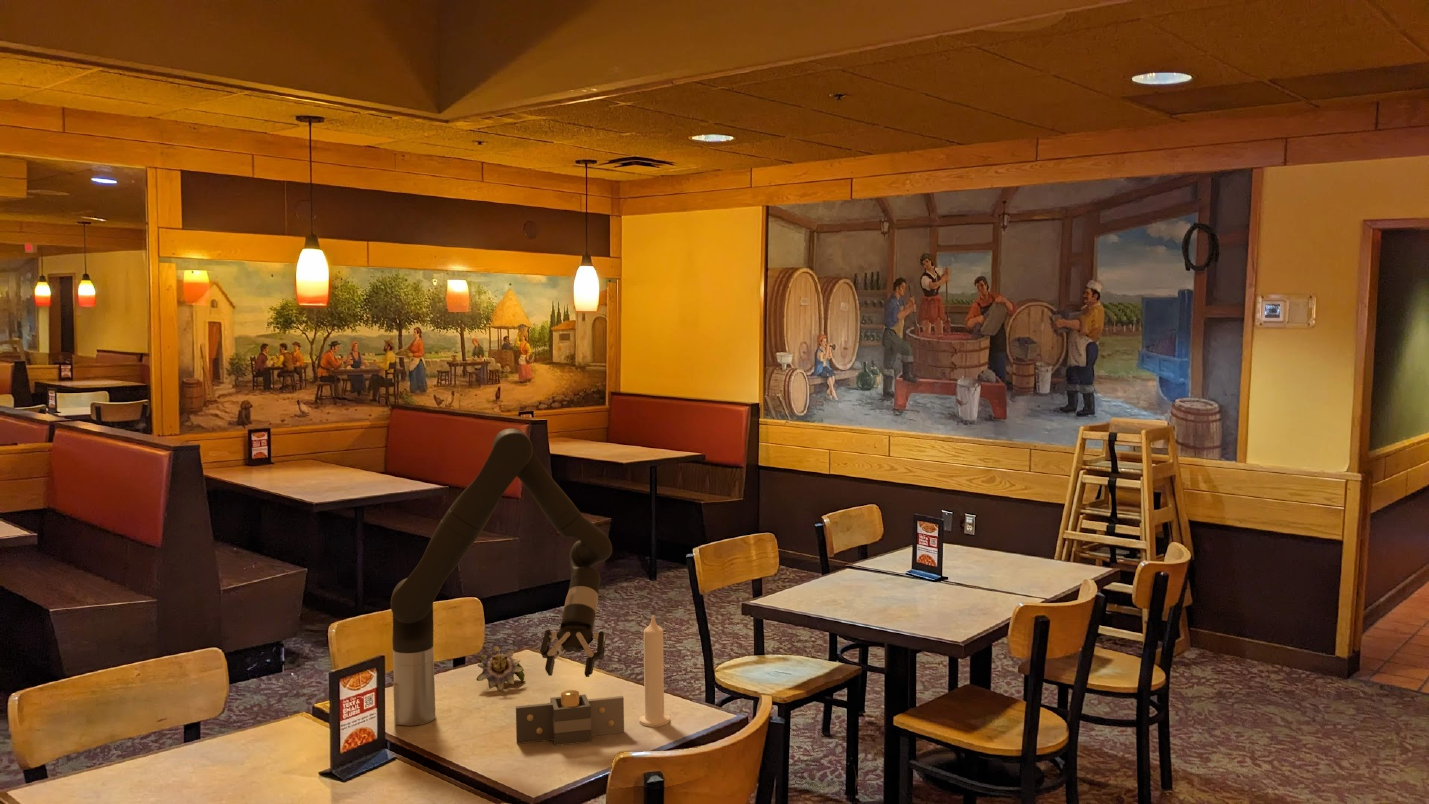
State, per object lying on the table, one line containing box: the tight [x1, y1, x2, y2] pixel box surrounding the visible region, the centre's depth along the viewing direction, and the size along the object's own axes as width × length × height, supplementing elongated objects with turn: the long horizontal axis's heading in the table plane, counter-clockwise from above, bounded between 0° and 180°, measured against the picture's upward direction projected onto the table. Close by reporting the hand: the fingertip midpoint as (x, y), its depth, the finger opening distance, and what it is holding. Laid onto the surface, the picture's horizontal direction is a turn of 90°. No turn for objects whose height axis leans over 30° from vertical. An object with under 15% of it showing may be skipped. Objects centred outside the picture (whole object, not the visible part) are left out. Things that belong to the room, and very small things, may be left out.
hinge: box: [515, 693, 625, 746], centre depth 240 cm, size 24×8×8 cm, turn 105°
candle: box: [638, 615, 671, 728], centre depth 248 cm, size 7×7×25 cm
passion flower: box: [475, 645, 525, 692], centre depth 275 cm, size 11×11×12 cm
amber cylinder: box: [560, 689, 580, 708], centre depth 240 cm, size 4×4×10 cm
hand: (568, 674), depth 238 cm, fingers open, 8 cm apart
